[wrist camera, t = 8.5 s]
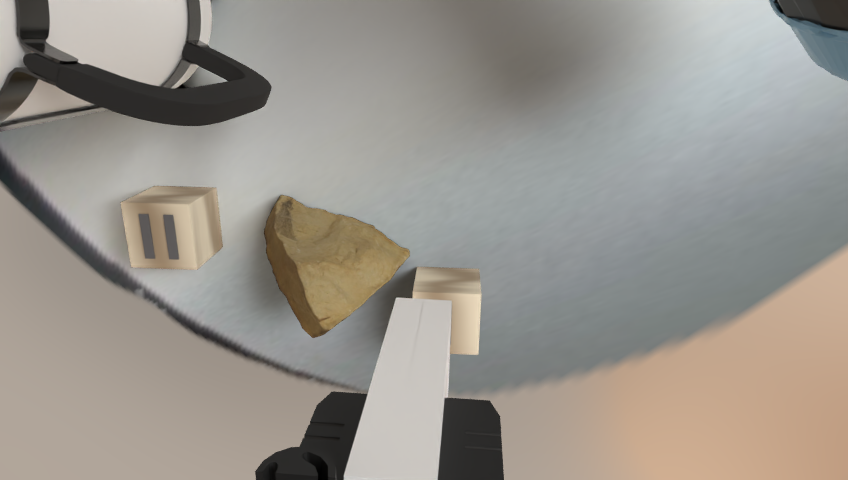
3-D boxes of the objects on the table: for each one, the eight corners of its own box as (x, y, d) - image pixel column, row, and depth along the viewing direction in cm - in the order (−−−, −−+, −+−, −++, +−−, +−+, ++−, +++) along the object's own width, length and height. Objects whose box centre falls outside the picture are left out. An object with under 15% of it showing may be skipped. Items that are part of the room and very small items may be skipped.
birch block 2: (478, 268, 46) (481, 295, 42) (476, 323, 48) (478, 355, 43) (417, 266, 47) (412, 292, 42) (416, 321, 48) (412, 352, 44)
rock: (221, 229, 44) (291, 337, 45) (234, 211, 36) (318, 342, 38) (337, 165, 49) (398, 265, 50) (371, 136, 41) (441, 256, 42)
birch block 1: (216, 187, 45) (188, 204, 41) (223, 246, 47) (196, 270, 42) (155, 185, 46) (119, 202, 41) (163, 244, 47) (130, 268, 43)
